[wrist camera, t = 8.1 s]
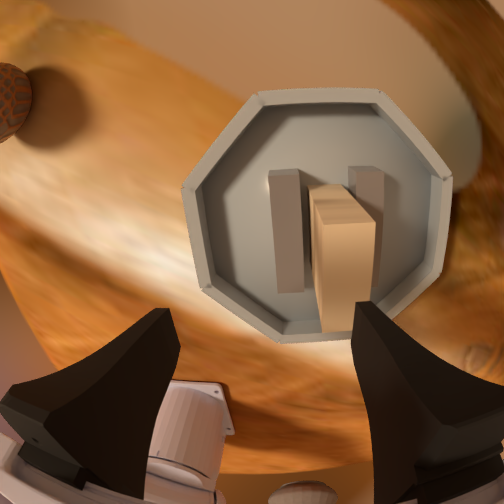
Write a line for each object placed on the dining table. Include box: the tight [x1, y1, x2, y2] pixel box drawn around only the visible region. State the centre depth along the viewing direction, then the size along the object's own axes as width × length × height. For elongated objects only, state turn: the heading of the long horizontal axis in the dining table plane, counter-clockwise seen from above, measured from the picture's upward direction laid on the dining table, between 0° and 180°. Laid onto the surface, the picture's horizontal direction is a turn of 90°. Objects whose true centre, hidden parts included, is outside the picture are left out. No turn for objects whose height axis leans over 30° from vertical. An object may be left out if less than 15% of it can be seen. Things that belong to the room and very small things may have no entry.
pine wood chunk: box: [307, 184, 376, 333], centre depth 15 cm, size 5×2×7 cm, turn 6°
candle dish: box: [181, 88, 453, 344], centre depth 17 cm, size 16×16×3 cm
